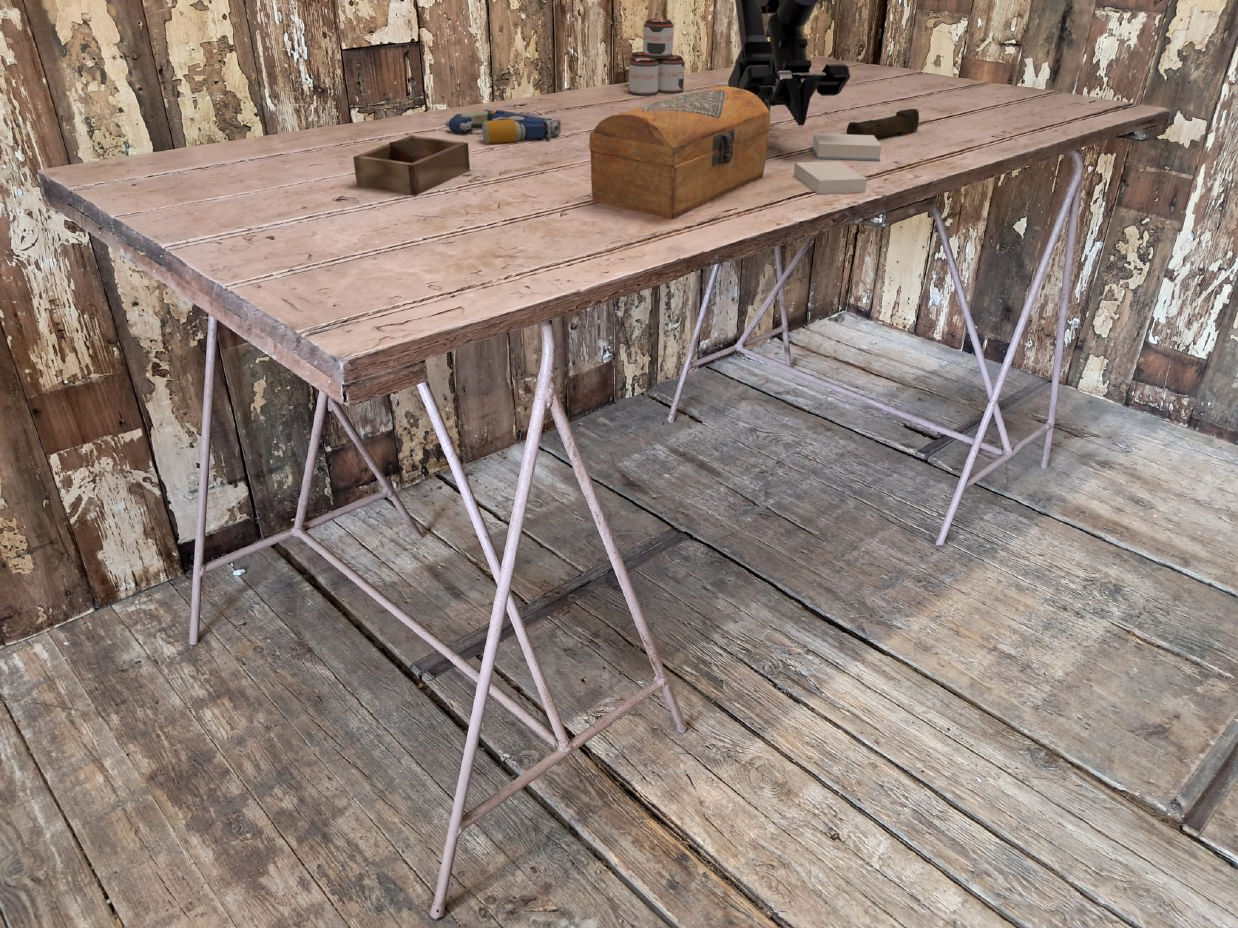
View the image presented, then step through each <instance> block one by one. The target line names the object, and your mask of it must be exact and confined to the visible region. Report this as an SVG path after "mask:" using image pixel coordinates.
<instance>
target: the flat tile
mask: <svg viewBox="0 0 1238 928" xmlns="http://www.w3.org/2000/svg"><path fill="white" fill-rule="evenodd" d="M811 145H812V146H811V148H812V151H813V153H814V155H815V157H816V159H819V160H840V159H843V160H844V161H847V160H848V161H871V162H872V161H873V162H877V161H878V162H879V161H880V158H881V152H882V148H883V147H882V144H881V143H880V142H879V140H878V139H877V137H875V136H874V135H848V134H847V133H843V134H842V133H841V134H840V133H815V132H814V133H813V137H812V144H811ZM845 159H846V160H845Z"/></svg>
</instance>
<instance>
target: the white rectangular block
mask: <svg viewBox="0 0 1238 928" xmlns="http://www.w3.org/2000/svg"><path fill="white" fill-rule="evenodd" d="M793 176H794V177H795V178H796V179H798V181H800V182H801V183H803V184H804V185H805V186H806V187H808V188H809V189H810V190H812V191H813V192H815V193H816V194H817V195H833V194H837V195H838V194H859V193H860V194H861V193H863V194H864V193H866V187H867V183H868V178H867V177H865V176H863V175H862V174H860V173H859V172H857V171H855V170H854V169H853V168H851V167H850V166H848V165H846V164H845V163H843V161H840V160H837V161H836V160H835V161H811V162H809V161H808V162H806V161H805V162H803V161H802V162H795V163H794V169H793Z"/></svg>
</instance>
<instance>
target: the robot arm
mask: <svg viewBox="0 0 1238 928" xmlns="http://www.w3.org/2000/svg"><path fill="white" fill-rule="evenodd" d="M819 1H820V0H734V2H735V9H736V15H737V16H736V17H737V23H738V24H737V25H738V30H739V31H738V32H739V39H740V41H739V42H740V46H741V47H740V51H739V53H738V55H737V57H736V59H735V62H734V67H733V69H732V71H731V74H730V75H729V78H728V80H727V83H728V84H727V87H735V88H740V89H744V90H747V91H749V92H751V93H753V94H755V95H756V96H757V97H759V98H760V99H761V101H762V102H763V103H764V104H765V105H766V107H767V109H768V110H769V112H770V113H771V108H772V107H775V106H785V107H786V108H787V110H788V111H789V113H790V114H791V116H792V118H793V120H795V123H797V125H798V126H801V127H803V126H804V125H805V124H806V119H807V114H808V110H809V106H810V102H811V98H812V96H813V95H814V93H815V92H817V93H818V94H819V95H820V96H822V97H824V96H825V97H829V96H830V97H831V96H834V97H835V96H838V95H839V94H840V93H841V92H842V90H843V89H844V87H846V85H847V83H848V81H849V80H850V78H851V71H850V67H849V66H848V65H847V64H844V63H836V64H835V63H834V64H833V63H829V64H828V63H826V64H825V66H824V67H823V69H822V70H821V72H810V69H811V68H812V60H811V59H808V56H807V50H806V48H807V46H808V45H809V43H808V39H807V38H804V34H803V29H802V26H804V25H806V24H807V23H808V21H809V20H810V18H811V16H812V14H813V12H814V10H815V8H816V7H817V5H818V2H819ZM763 14H764V15H765V14H767V15H771V14H772V15H771V16H770V17H769V19H768V21H767V24H766V26H767V29H766V31H765V27H764V18H763ZM766 38H769V40H768V39H766Z"/></svg>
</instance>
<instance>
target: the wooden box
mask: <svg viewBox="0 0 1238 928" xmlns="http://www.w3.org/2000/svg"><path fill="white" fill-rule="evenodd" d="M770 129H771V111H770V112H769V110H768V109H767V107H766V105H765V104H764V103H763V102H762V101H761V99H760V98H759V97H757V96H756V95H755V94H753V93H751V92H749V91H747V90H744V89H740V88H735V87H728V86H726V85H725V86H724V85H723V86H715V87H710V88H706V89H703V90H699V91H695V92H690V93H686V94H682V95H677V96H674V97H671V98H666V99H663V100H659V101H655V102H653V103H648V104H646V105H644V106H641V107H638V108H634V109H631V110H628V111H624V112H622V113H617V114H614V115H610V116H608V117H606V118H604V119H602V120H601V121H599V123H598V124H597V125H596V126H595V127H594V129H593V130H592V131H590V132H589V144H588V145H589V152H590V178H591V179H590V180H591V194H592V195H591V197H592V202H596V203H600V204H603V205H608V206H613V207H617V208H622V209H626V210H628V211H629V210H630V211H635V212H638V213H642V214H647V215H651V216H656V217H660V218H666V219H669V220H673V219H676V218H679V217H680V216H683V215H685V214H687V213H688V212H691V211H693V210H695V209H697V208H699V207H701V206H703V205H705V204H707V203H710V202H712V201H713V200H716V199H718V198H720V197H722V196H725V195H727V194H729V193H730V192H732V190H733V191H735V190H738V189H740V188H742V187H744V186H746V185H748V184H751V183H753V182H755V181H757V180H759V178H760V179H761V178H763V176H764V172H765V168H766V162H767V157H768V155H767V154H768V150H769V149H768V148H769V137H770V135H769V133H770Z"/></svg>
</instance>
